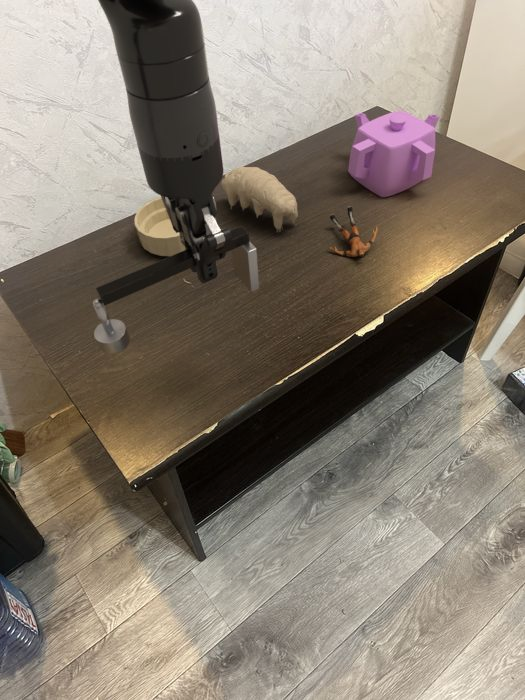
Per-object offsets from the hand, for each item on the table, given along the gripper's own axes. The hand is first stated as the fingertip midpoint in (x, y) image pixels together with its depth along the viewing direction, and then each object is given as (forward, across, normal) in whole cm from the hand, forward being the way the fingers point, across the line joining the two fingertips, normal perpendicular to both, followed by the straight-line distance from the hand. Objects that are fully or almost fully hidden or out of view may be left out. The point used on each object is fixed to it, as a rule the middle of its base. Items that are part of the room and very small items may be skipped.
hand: (204, 273), depth 59 cm
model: (+21, -30, +25) cm, 44 cm away
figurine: (+21, -13, +34) cm, 42 cm away
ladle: (+4, 0, -4) cm, 6 cm away
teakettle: (+21, -26, +54) cm, 64 cm away
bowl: (+21, -34, +8) cm, 41 cm away
